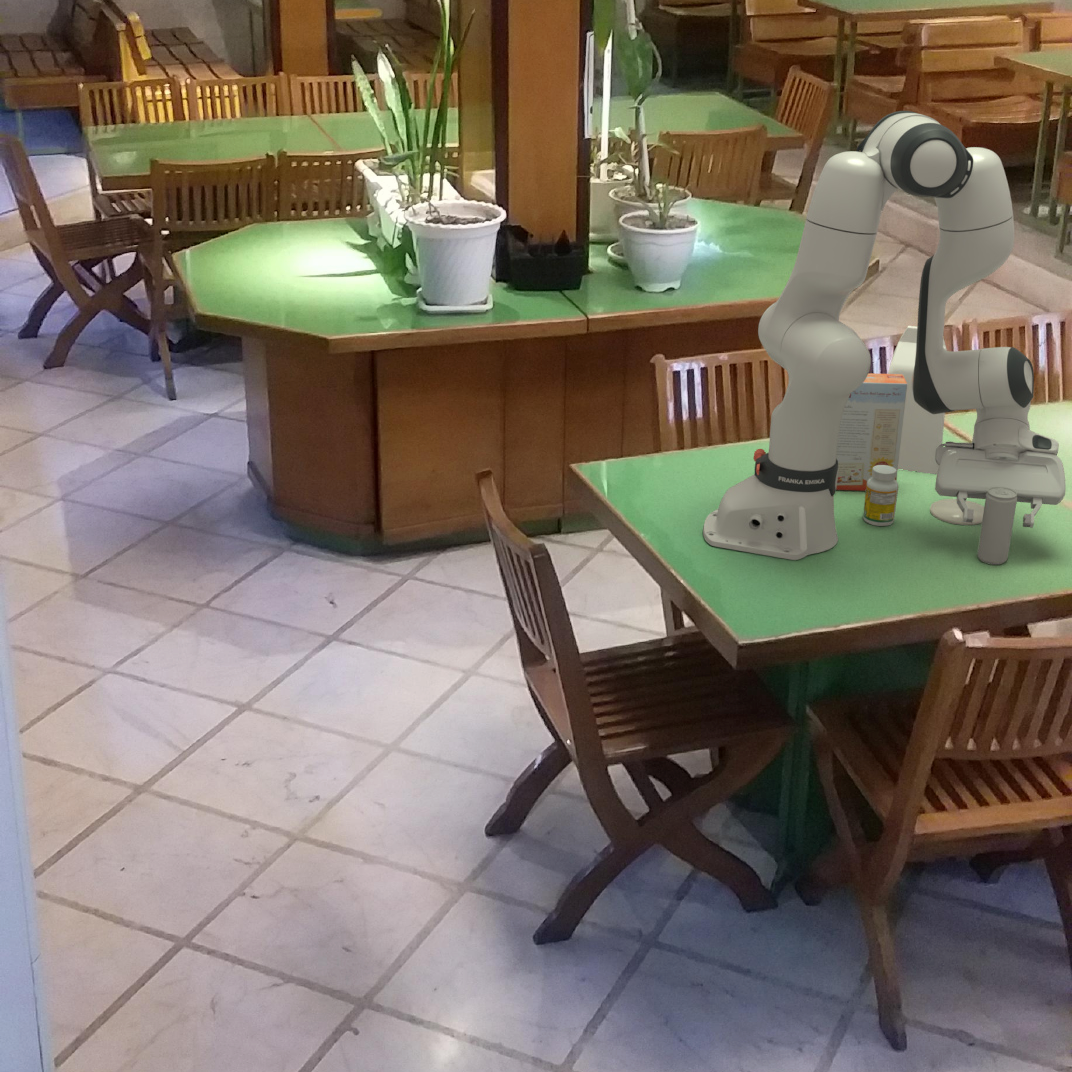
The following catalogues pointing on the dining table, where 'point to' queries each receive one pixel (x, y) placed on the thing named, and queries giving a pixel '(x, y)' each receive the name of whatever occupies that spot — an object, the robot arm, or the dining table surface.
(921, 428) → the milk
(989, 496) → the beverage can
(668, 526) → the dining table surface
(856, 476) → the cracker box
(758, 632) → the dining table surface
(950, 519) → the white domed disc
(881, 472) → the supplement bottle
